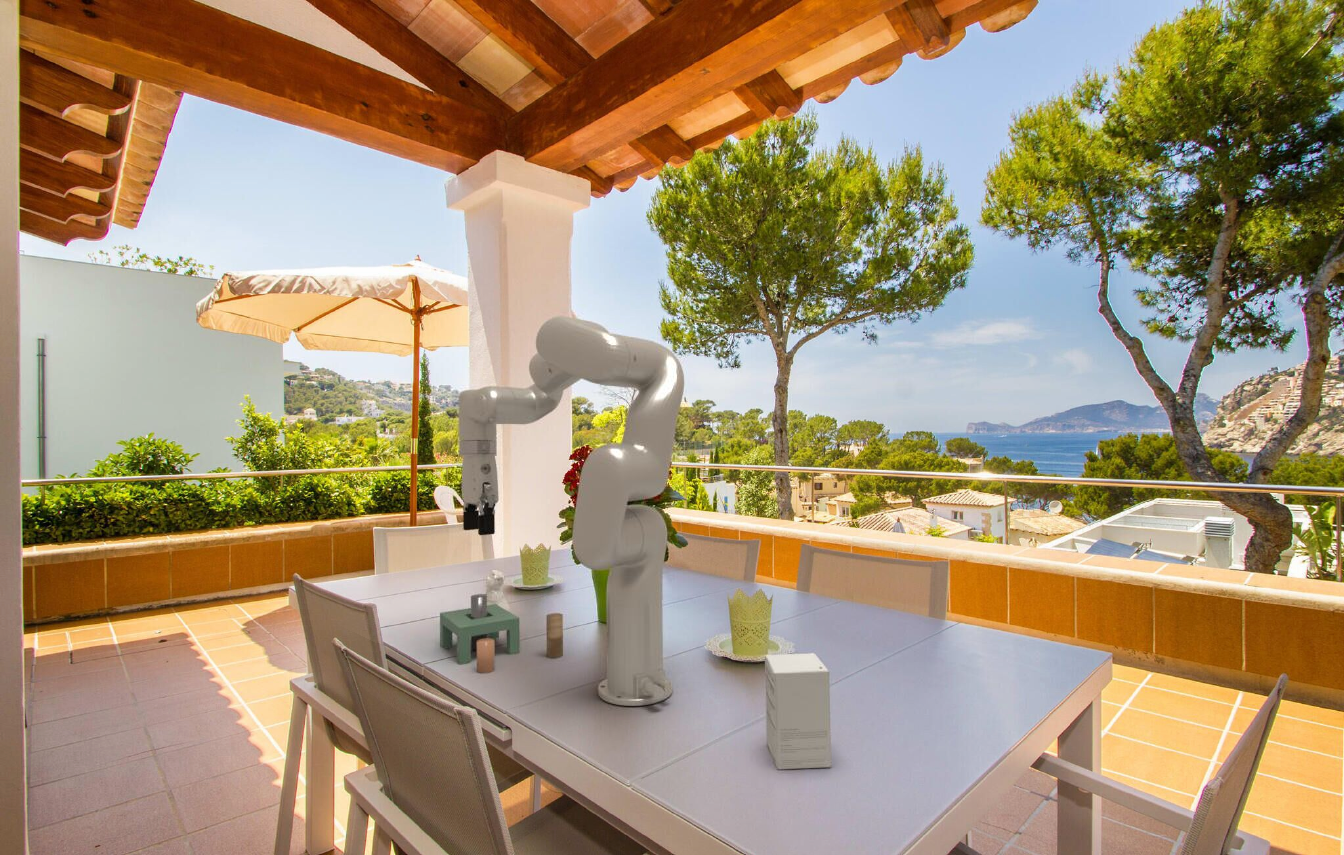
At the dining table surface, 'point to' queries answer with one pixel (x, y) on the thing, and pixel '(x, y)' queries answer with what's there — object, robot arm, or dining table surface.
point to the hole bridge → (478, 629)
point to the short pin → (485, 655)
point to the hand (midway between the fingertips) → (478, 532)
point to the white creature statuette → (496, 590)
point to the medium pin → (554, 635)
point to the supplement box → (798, 711)
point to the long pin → (478, 615)
